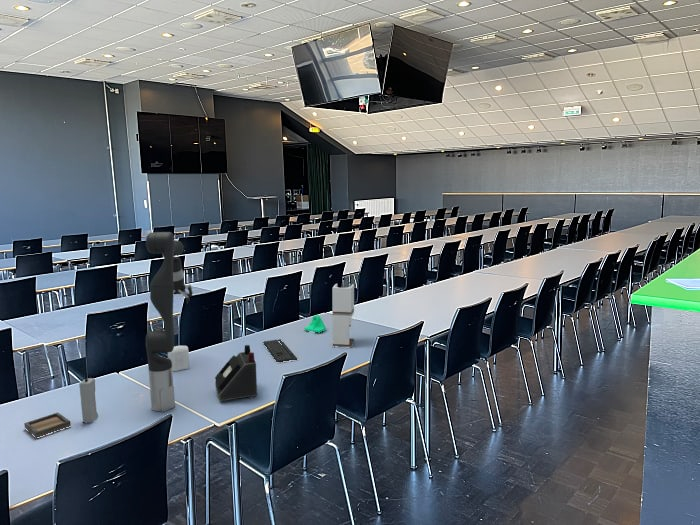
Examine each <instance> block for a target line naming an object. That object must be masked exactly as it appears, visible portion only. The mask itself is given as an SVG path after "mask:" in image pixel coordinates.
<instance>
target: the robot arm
mask: <svg viewBox="0 0 700 525" xmlns="http://www.w3.org/2000/svg"><path fill="white" fill-rule="evenodd" d="M145 246H146V247H145V248H146V250H147V251H148V252H149V253H150V254H155V255H159V254H161V255H162V256H163V262H162V265H160V266H161V267H160V268H159V269H158V271H157V272H156V273H155V275H154V277H153V278H152V279H151V282H150V285H149V286H150V289H149V295H150V296H149V297H150V298H149V299H150V301H151V304H152V305H153V307H154V308H155V309H156V311H157V312H158V314H159V315H160V317H161V319H162V321H163V325H164V330H161V329H160V330H150V331H148V332H147V333H146V334H145V335H146V336H145V348H146V355H147V364H148V365H147V366H148V377H149V378H148V379H149V381H148V382H149V391H150V392H149V394H150V409H151V410H153V411H155V412H166V411H168V410H172V409H173V408H176V400H175V399H176V398H175V397H176V396H175V386H174V378H173V377H174V376H173V372H172V361H171V360H170V359H168V357H165V356H162V355H160V354H162V353H163V354H164V353H168V352H172V351H173V349H174V347H175V329H174V328H175V327H174V296H175V295H182V296H184V297H185V301H186V304H187V305H188V304H189V303H190V298H191V297H193V288H192V285H191V284H188V285H186V284H185V278H184V272H183V266H182V260H181V258H180V257H178V256H181V255H182V254H183V253H184V244H183V243H182V242H181V241H180V240H175V237H174V234H173V233H172V232H171V231H161V232H160V231H155V232H150V233H148V234H147V235H146V238H145ZM187 291H188V292H187Z"/></svg>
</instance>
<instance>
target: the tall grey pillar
mask: <svg viewBox="0 0 700 525" xmlns="http://www.w3.org/2000/svg"><path fill="white" fill-rule="evenodd" d="M331 294H332V296H331V297H332V302H331V303H332V308H331V309H332V347H333V346H334V347H333V348H336V347H335V346H338V347H351V346H352V347H353V345H354V343H353V342H355V338H350V328H351V326H352V317H353V316H354V314H355V284H354V283H353V284H351V286H349V287H338V283H335V284H334V285H333V287H332V293H331ZM352 344H353V345H352ZM352 347H351V348H352Z"/></svg>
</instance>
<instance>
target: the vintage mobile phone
mask: <svg viewBox="0 0 700 525" xmlns="http://www.w3.org/2000/svg"><path fill="white" fill-rule="evenodd" d="M86 362H87V361H85V360H84V361H83V367H84V379H83V380H82V381H80V383H79V394H80V404H81V407H80V408H81V414H82V415H81V416H82V423H83V422H93V421H94V420H95V419H96V418H97V417H98V418H99V414H98V412H97V401H96V400H97V399H96V379H95V378H94V377H93V378H92V377H89V378H88V372H87V364H86ZM98 418H97V419H98ZM97 419H96V420H97ZM96 420H95V421H96ZM95 421H94V422H95ZM94 422H93V423H94Z"/></svg>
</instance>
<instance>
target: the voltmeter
mask: <svg viewBox="0 0 700 525" xmlns="http://www.w3.org/2000/svg"><path fill="white" fill-rule="evenodd" d="M254 353H255V352H252V351H251V347H250V344H245V345H244V351H243V352H242V351H241V352H239V353H237V355H234V354H233V355H232V356H231V357H230V359H229V360H228V361H227V362H226V363H225V364H224V365H223V367H222V368H221V369H220V370H219V372H218V373H217V374H216V375H215V377H214V379H215V383H214V384H215V389H216V393H217V395H218V396H217V397H218V400H219V401H221V402H222V403H226V402H227V401H228V400H235V399H238V398H239V399H240V398H246V397H248V398H251V399H252V398H254V397H255V396H257V395H258V383H257V382H258V381H257V378H258V377H257V362H256V360H255V354H254Z"/></svg>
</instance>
